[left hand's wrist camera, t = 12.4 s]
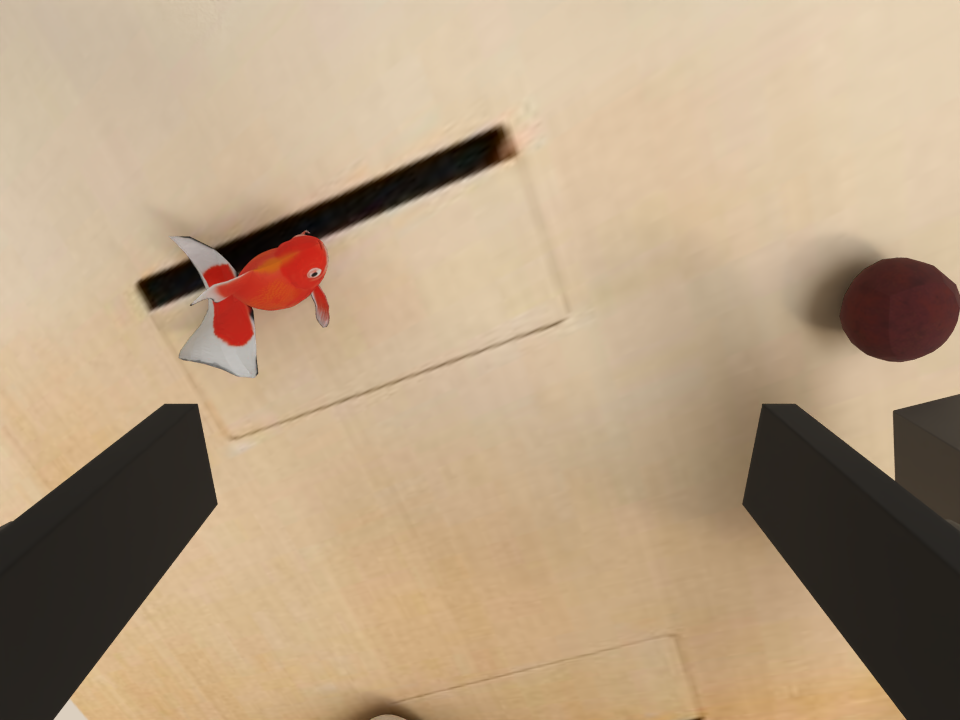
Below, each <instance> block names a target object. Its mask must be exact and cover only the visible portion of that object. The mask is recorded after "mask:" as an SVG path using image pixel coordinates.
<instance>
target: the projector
mask: <svg viewBox="0 0 960 720" xmlns="http://www.w3.org/2000/svg"><path fill="white" fill-rule="evenodd" d="M370 720H406V719H404V718H402V717H399V716H395V715H380V716H377V717H374V718H372V719H370Z"/></svg>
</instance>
